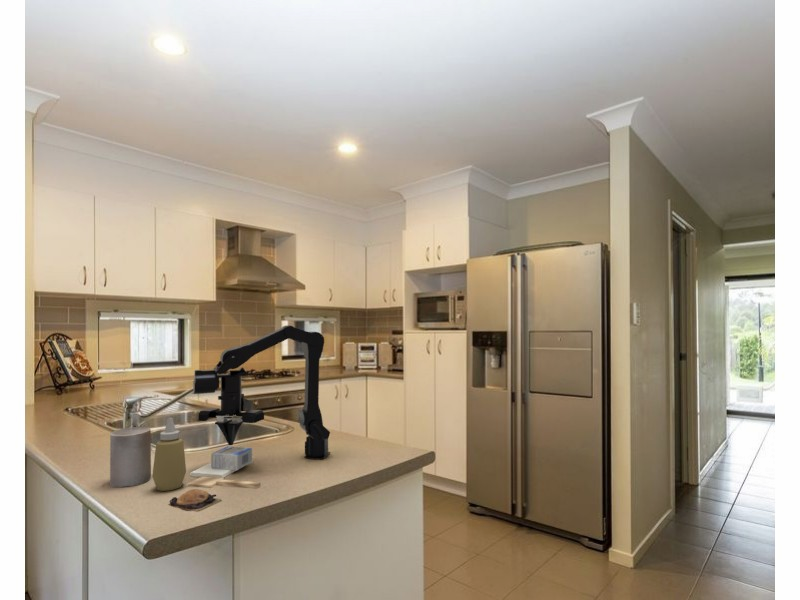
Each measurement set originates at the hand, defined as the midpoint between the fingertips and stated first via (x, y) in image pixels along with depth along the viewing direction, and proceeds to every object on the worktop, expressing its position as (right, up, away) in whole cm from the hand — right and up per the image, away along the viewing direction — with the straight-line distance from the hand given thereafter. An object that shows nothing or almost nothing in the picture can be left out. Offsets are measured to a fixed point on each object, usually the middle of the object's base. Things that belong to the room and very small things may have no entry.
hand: (230, 444), depth 138 cm
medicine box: (+5, -4, -1) cm, 6 cm away
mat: (-2, -7, 0) cm, 7 cm away
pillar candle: (-24, -7, -10) cm, 27 cm away
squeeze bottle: (-11, -7, -15) cm, 20 cm away
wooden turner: (+4, -7, -14) cm, 16 cm away
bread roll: (+1, -7, -26) cm, 27 cm away
